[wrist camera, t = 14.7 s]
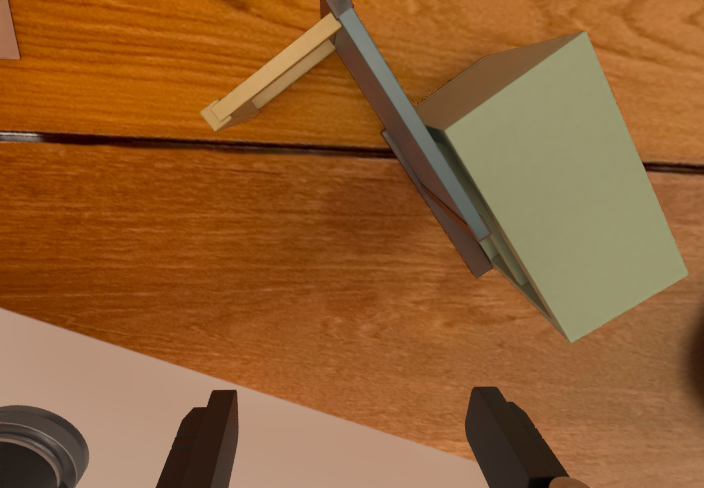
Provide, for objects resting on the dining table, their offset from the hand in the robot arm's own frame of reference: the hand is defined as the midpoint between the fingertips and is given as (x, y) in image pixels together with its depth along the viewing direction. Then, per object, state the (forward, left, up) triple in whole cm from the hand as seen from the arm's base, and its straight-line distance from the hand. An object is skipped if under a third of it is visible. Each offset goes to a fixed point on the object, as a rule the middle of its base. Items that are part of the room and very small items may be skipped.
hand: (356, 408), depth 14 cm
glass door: (+5, -3, -22) cm, 23 cm away
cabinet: (-2, -14, -23) cm, 27 cm away
